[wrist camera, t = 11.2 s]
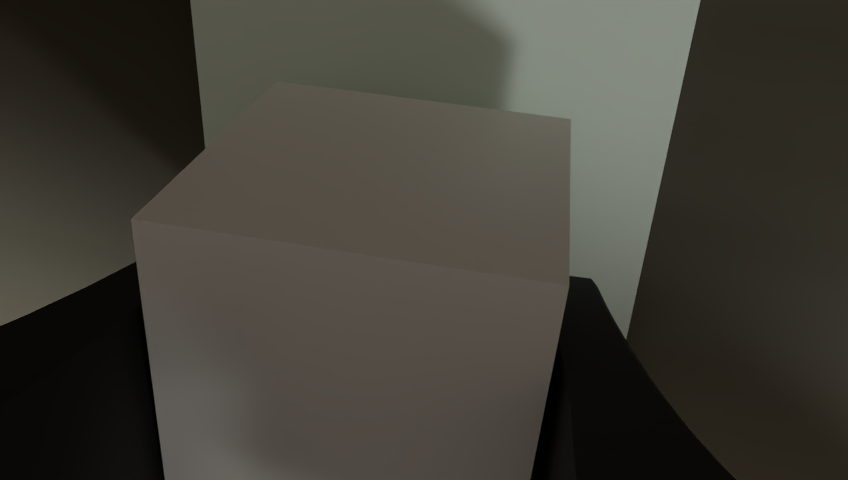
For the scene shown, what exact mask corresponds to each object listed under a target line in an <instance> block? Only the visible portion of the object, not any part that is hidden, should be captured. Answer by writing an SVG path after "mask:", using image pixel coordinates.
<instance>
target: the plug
mask: <svg viewBox="0 0 848 480" xmlns="http://www.w3.org/2000/svg"><path fill="white" fill-rule="evenodd" d="M570 140H571V119H567V118H559V117H551V116H544V115H536V114H528V113H520V112H512V111H505V110H497V109H489V108H481V107H474V106H466V105H458V104H450V103H443V102H435V101H427V100H419V99H412V98H404V97H396V96H388V95H381V94H373V93H365V92H357V91H349V90H342V89H334V88H326V87H318V86H311V85H303V84H295V83H287V82H280V81H277V82H276V83H274V84H273V85H272V86H271V87H270V88H269V89H268V90H267V91H266V92H265V93H264V94H263V95H262V96H261V97H260V98H259V99H258V100H256V101H255V102H254V103H253V104H252V105H251V106H250V107H249V108H248V109H247V110H246V111H245V112H244V113H243V114H242V115H241V116H240V117H238V118H237V119H236V120H235V121H234V122H233V123H232V124H231V125H230V126H229V127H228V128H227V129H226V130H225V131H224V132H223V133H221V134H220V135H219V136H218V137H217V138H216V139H215V140H214V141H213V142H212V143H211V144H210V145H209V146H208V147H207V148H206V149H205V150H203V151H202V152H201V153H200V154H199V155H198V156H197V157H196V158H195V159H194V160H193V161H192V162H191V163H190V164H189V165H188V166H187V167H185V168H184V169H183V170H182V171H181V172H180V173H179V174H178V175H177V176H176V177H175V178H174V179H173V180H172V181H171V182H170V183H169V184H167V185H166V186H165V187H164V188H163V189H162V190H161V191H160V192H159V193H158V194H157V195H156V196H155V197H154V198H153V199H152V200H151V201H149V202H148V203H147V204H146V205H145V206H144V207H143V208H142V209H141V210H140V211H139V212H138V213H137V214H136V215H135V216H134V217H133V218H131V226H132V233H133V241H134V249H135V256H136V264H137V271H138V279H139V287H140V294H141V302H142V309H143V317H144V325H145V332H146V340H147V347H148V355H149V363H150V370H151V378H152V385H153V393H154V401H155V408H156V416H157V423H158V431H159V439H160V446H161V454H162V462H163V469H164V477H165V480H530V479H531V474H532V469H533V464H534V459H535V454H536V449H537V444H538V439H539V434H540V429H541V424H542V419H543V414H544V409H545V404H546V399H547V394H548V389H549V384H550V379H551V374H552V369H553V364H554V359H555V354H556V349H557V344H558V339H559V335H560V330H561V325H562V320H563V315H564V310H565V305H566V300H567V295H568V290H569V260H570Z"/></svg>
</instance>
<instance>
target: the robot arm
mask: <svg viewBox="0 0 848 480" xmlns="http://www.w3.org/2000/svg"><path fill="white" fill-rule="evenodd" d="M0 480H165V477H164V469H163V462H162V454H161V446H160V439H159V431H158V423H157V416H156V408H155V401H154V393H153V385H152V378H151V370H150V363H149V355H148V347H147V340H146V332H145V325H144V317H143V309H142V302H141V294H140V287H139V279H138V271H137V264H136V262H135V263H133V264H131V265H129V266H127V267H125V268H123V269H121V270H119V271H117V272H115V273H113V274H111V275H109V276H107V277H105V278H103V279H101V280H99V281H98V282H96V283H94V284H92V285H90V286H88V287H86V288H83V289H81V290H79V291H77V292H75V293H73V294H71V295H68V296H66V297H64V298H62V299H60V300H58V301H55V302H53V303H51V304H49V305H47V306H45V307H43V308H40V309H38V310H36V311H34V312H32V313H30V314H28V315H25V316H23V317H21V318H18V319H16V320H14V321H11V322H9V323H7V324H4V325H2V326H0ZM530 480H736V479H735V478H734V477H733V476H732V475H731V474H730V473H729V472H728V471H727V470H726V469H725V468H724V467H723V466H722V465H721V464H720V463H719V462H718V461H717V460H716V459H715V458H714V456H713V455H712V454H711V453H710V452H709V451H708V450H707V449H706V448H705V447H704V446H703V444H702V443H701V442H700V441H699V440H698V439H697V438H696V437H695V436H694V434H693V433H692V432H691V431H690V430H689V428H688V427H687V426H686V425H685V423H684V422H683V421H682V420H681V418H680V417H679V416H678V415H677V413H676V412H675V411H674V409H673V408H672V407H671V405H670V404H669V403H668V401H667V400H666V399H665V397H664V396H663V395H662V393H661V392H660V391H659V389H658V388H657V386H656V385H655V384H654V382H653V381H652V379H651V378H650V376H649V375H648V374H647V372H646V370H645V369H644V367H643V366H642V364H641V363H640V361H639V360H638V358H637V357H636V355H635V353H634V352H633V350H632V349H631V347H630V346H629V344H628V342H627V341H626V339H625V337H624V336H623V334H622V332H621V331H620V329H619V327H618V325H617V324H616V322H615V320H614V318H613V316H612V315H611V313H610V311H609V309H608V307H607V305H606V303H605V301H604V299H603V297H602V295H601V293H600V291H599V289H598V287H597V285H596V284H595V283H594V281H593V280H592V279H591V278H583V277H575V276H569V290H568V295H567V300H566V305H565V310H564V315H563V320H562V325H561V330H560V335H559V339H558V344H557V349H556V354H555V359H554V364H553V369H552V374H551V379H550V384H549V389H548V394H547V399H546V404H545V409H544V414H543V419H542V424H541V429H540V434H539V439H538V444H537V449H536V454H535V459H534V464H533V469H532V474H531V479H530Z"/></svg>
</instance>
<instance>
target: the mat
mask: <svg viewBox="0 0 848 480" xmlns="http://www.w3.org/2000/svg"><path fill="white" fill-rule="evenodd" d="M190 2H191V12H192V22H193V32H194V42H195V52H196V62H197V72H198V81H199V91H200V101H201V111H202V121H203V131H204V141H205V149H206V148H207V147H208V146H209V145H210V144H211V143H212V142H213V141H214V140H215V139H216V138H217V137H218V136H219V135H220V134H221V133H223V132H224V131H225V130H226V129H227V128H228V127H229V126H230V125H231V124H232V123H233V122H234V121H235V120H236V119H237V118H238V117H240V116H241V115H242V114H243V113H244V112H245V111H246V110H247V109H248V108H249V107H250V106H251V105H252V104H253V103H254V102H255V101H256V100H258V99H259V98H260V97H261V96H262V95H263V94H264V93H265V92H266V91H267V90H268V89H269V88H270V87H271V86H272V85H273V84H274V83H276V82H277V81H280V82H287V83H295V84H303V85H311V86H318V87H326V88H334V89H342V90H349V91H357V92H365V93H373V94H381V95H388V96H396V97H404V98H412V99H419V100H427V101H435V102H443V103H450V104H458V105H466V106H474V107H481V108H489V109H497V110H505V111H512V112H520V113H528V114H536V115H544V116H551V117H559V118H567V119H571V140H570V260H569V276H575V277H583V278H591V279H592V280H593V281H594V283H595V284H596V285H597V287H598V289H599V291H600V293H601V295H602V297H603V299H604V301H605V303H606V305H607V307H608V309H609V311H610V313H611V315H612V316H613V318H614V320H615V322H616V324H617V325H618V327H619V329H620V331H621V332H622V334H623V336H624V337H625V339H626V338H627V334H628V329H629V325H630V320H631V315H632V311H633V306H634V302H635V297H636V293H637V288H638V283H639V279H640V274H641V270H642V265H643V260H644V256H645V251H646V247H647V242H648V238H649V233H650V228H651V224H652V219H653V215H654V210H655V206H656V201H657V196H658V192H659V187H660V183H661V178H662V173H663V169H664V164H665V160H666V155H667V151H668V146H669V141H670V137H671V132H672V128H673V123H674V119H675V114H676V109H677V105H678V100H679V96H680V91H681V87H682V82H683V77H684V73H685V68H686V64H687V59H688V54H689V50H690V45H691V41H692V36H693V32H694V27H695V22H696V18H697V13H698V9H699V4H700V0H190Z"/></svg>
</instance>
